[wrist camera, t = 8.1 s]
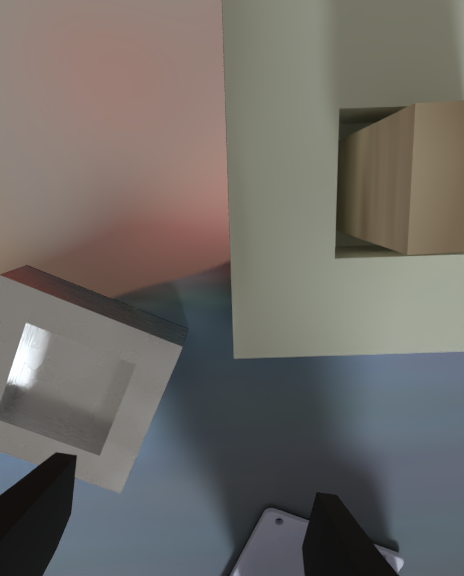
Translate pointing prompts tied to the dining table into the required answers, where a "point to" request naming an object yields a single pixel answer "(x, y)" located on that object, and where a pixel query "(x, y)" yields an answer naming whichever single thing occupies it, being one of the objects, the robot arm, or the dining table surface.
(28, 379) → the stand
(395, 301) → the socket
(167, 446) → the dining table surface
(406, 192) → the peg
